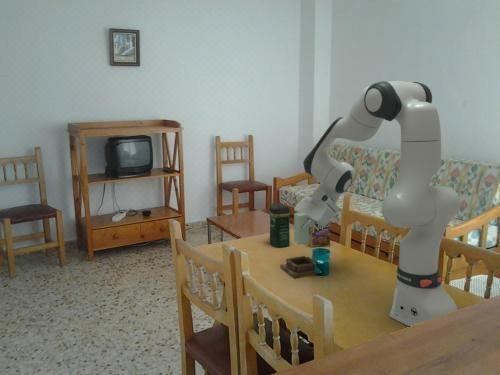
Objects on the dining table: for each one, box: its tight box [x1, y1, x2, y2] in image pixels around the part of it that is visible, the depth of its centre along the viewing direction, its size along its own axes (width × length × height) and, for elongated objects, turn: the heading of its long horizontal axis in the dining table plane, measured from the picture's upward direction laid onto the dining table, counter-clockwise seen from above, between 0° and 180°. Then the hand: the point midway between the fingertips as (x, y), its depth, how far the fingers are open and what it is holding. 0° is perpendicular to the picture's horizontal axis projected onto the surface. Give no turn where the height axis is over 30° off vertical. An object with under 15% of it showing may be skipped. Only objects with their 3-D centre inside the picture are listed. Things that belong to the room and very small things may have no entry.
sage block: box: [293, 212, 309, 245], centre depth 179 cm, size 4×4×11 cm
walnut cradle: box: [279, 255, 318, 280], centre depth 182 cm, size 12×12×4 cm
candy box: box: [307, 219, 332, 248], centre depth 210 cm, size 9×4×15 cm, turn 98°
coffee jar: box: [269, 202, 291, 248], centre depth 212 cm, size 10×8×19 cm
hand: (299, 227), depth 179 cm, fingers closed on sage block, 4 cm apart
